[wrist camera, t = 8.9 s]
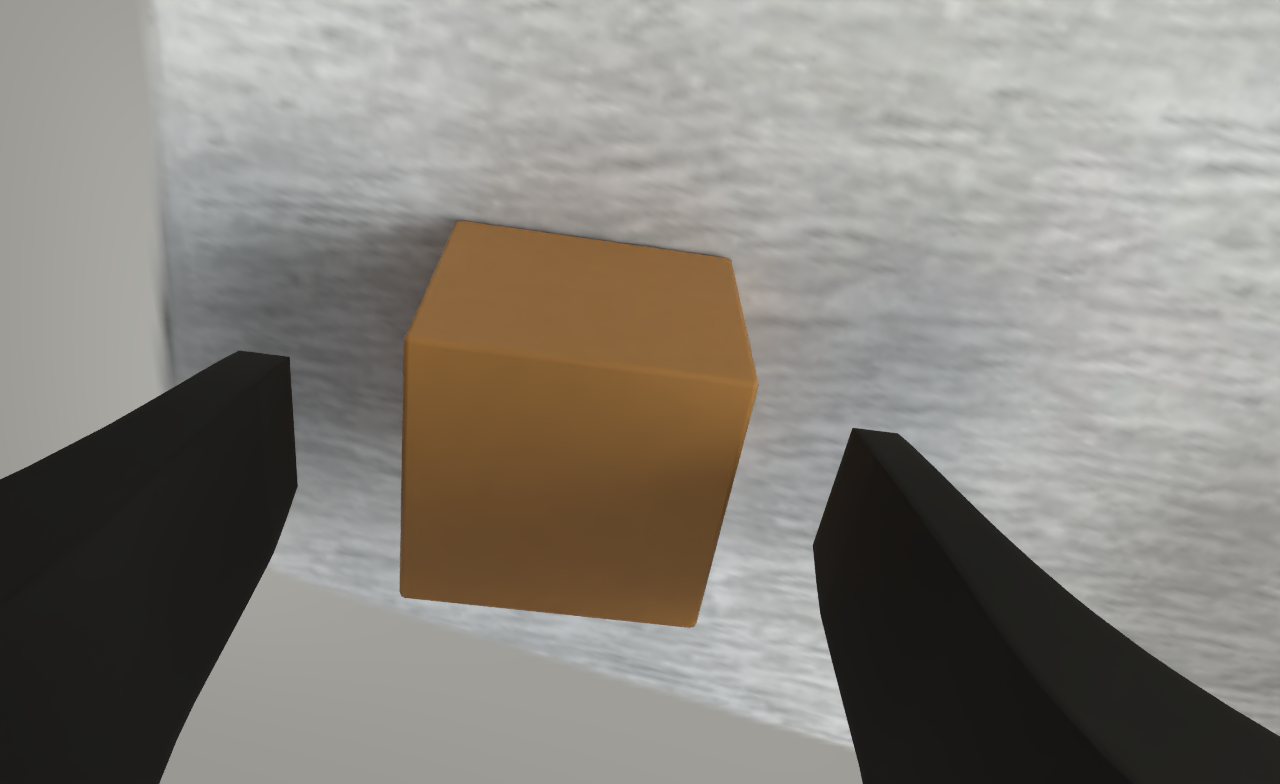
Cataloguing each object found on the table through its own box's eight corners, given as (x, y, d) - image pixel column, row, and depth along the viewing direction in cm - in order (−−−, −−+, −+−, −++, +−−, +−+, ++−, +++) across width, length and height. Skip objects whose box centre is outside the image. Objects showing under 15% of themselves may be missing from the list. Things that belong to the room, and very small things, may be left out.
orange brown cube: (684, 473, 15) (695, 630, 12) (445, 445, 15) (398, 599, 12) (732, 257, 13) (760, 383, 10) (455, 217, 13) (402, 336, 10)
